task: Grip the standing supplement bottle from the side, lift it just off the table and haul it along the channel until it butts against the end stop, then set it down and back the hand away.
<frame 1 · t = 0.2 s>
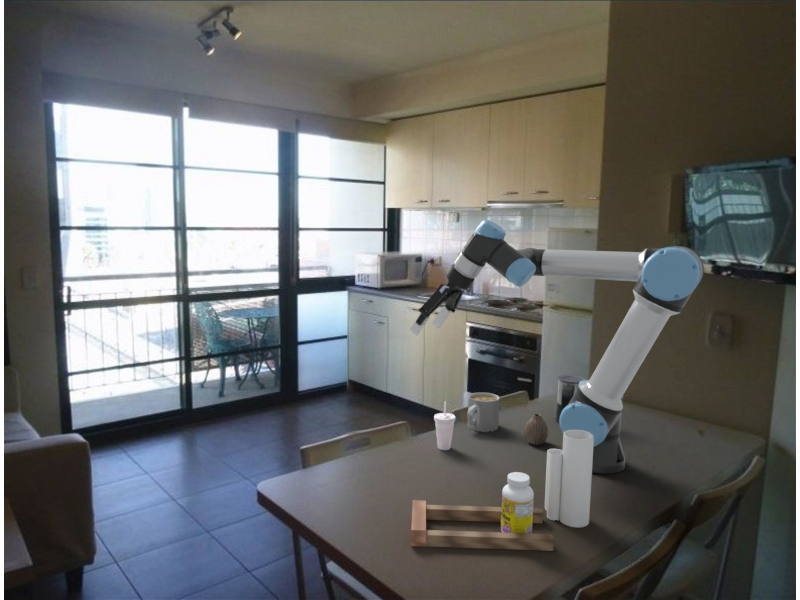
hand: (424, 329, 172), 35 cm above the table, tool tilted 35°, fingers open, 13 cm apart
supplement bottle: (516, 533, 127), resting in channel
white joined tall cylinders: (563, 517, 134), on the table
vase: (535, 443, 179), on the table
smoothie: (444, 448, 174), on the table
coffee mug: (479, 428, 191), on the table
channel: (483, 531, 127), on the table
milk frother: (580, 424, 196), on the table
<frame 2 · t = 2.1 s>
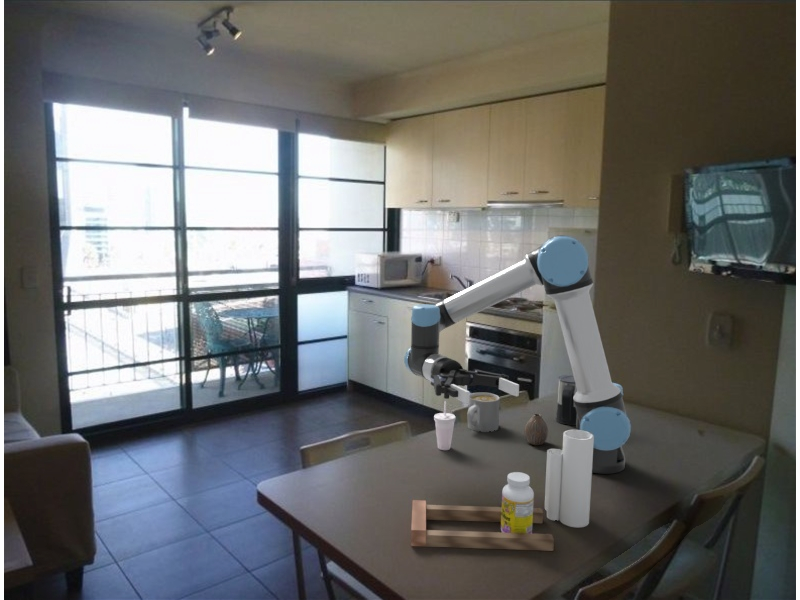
hand: (493, 394, 131), 28 cm above the table, tool horizontal, fingers open, 13 cm apart
nothing on the table moved.
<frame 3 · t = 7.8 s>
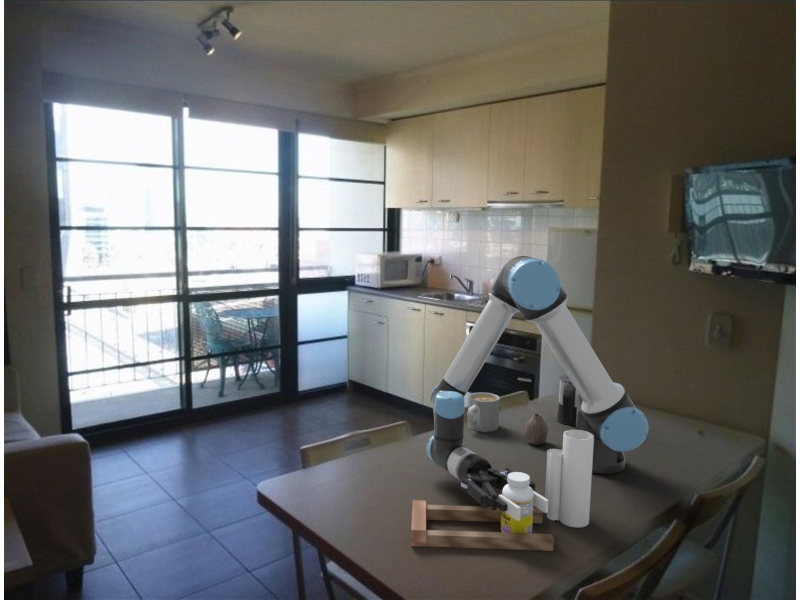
hand: (533, 510, 121), 8 cm above the table, tool horizontal, fingers closed on supplement bottle, 7 cm apart
supplement bottle: (516, 533, 127), resting in channel, touching gripper
everything else where it was.
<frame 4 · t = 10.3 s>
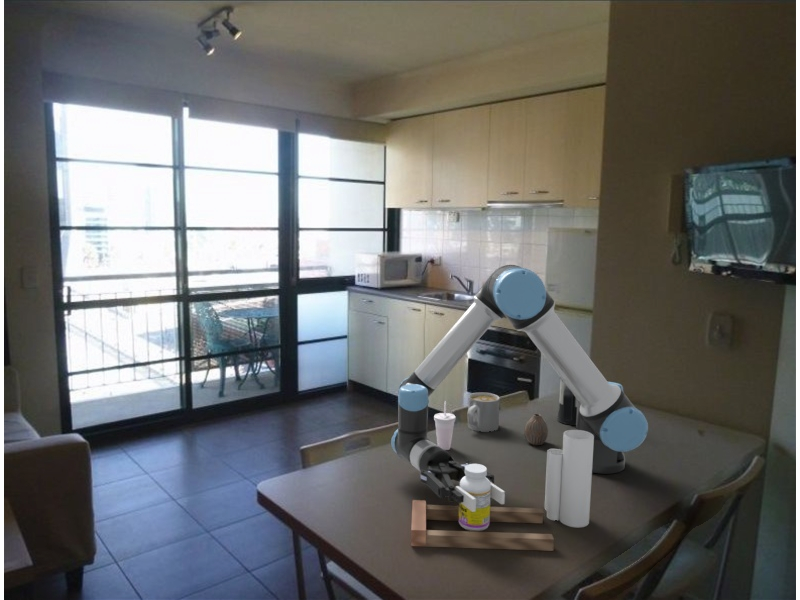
hand: (488, 501, 121), 9 cm above the table, tool horizontal, fingers closed on supplement bottle, 7 cm apart
supplement bottle: (473, 525, 127), point 1 cm above the table, touching gripper
everything else where it was.
when the fingers open (9 cm above the table, at t = 12.8 s): supplement bottle drops 1 cm, resting in channel.
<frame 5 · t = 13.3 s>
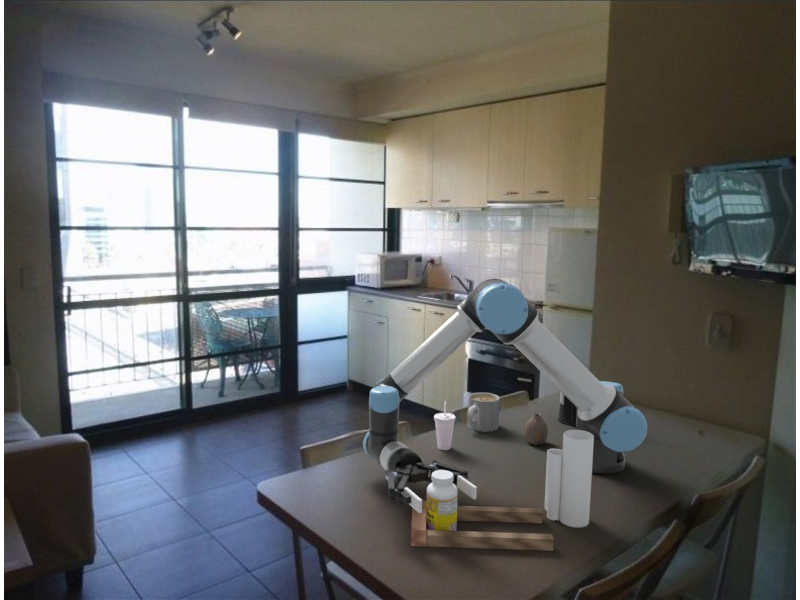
hand: (448, 499, 123), 8 cm above the table, tool horizontal, fingers open, 13 cm apart
supplement bottle: (441, 531, 127), resting in channel
everything else where it was.
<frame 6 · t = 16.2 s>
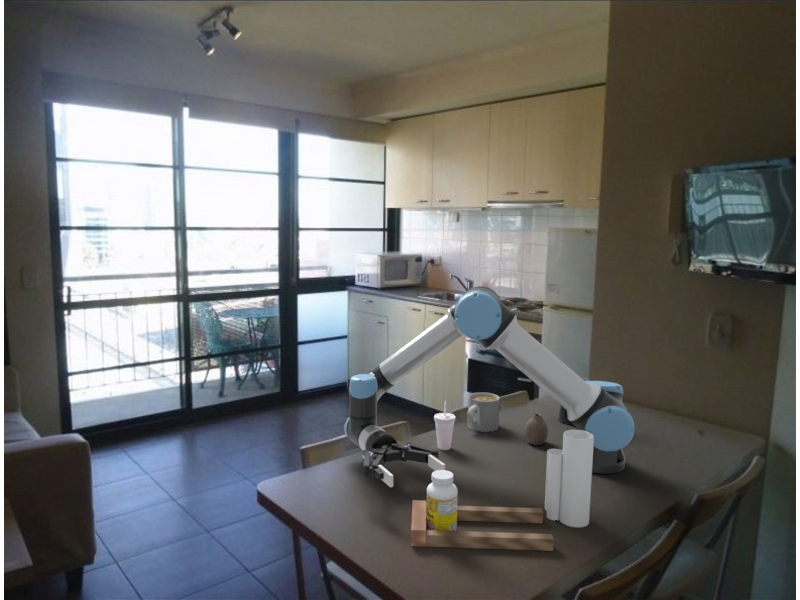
hand: (418, 475, 135), 9 cm above the table, tool horizontal, fingers open, 13 cm apart
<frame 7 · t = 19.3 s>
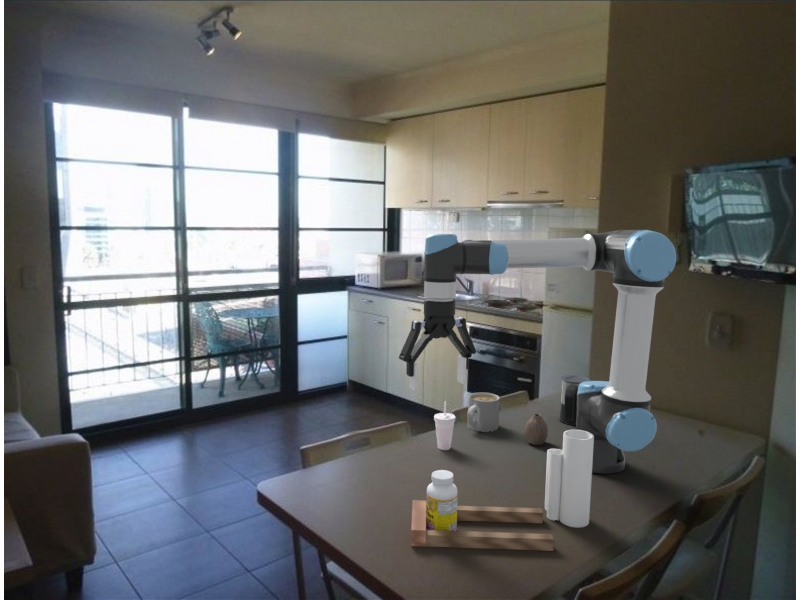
hand: (437, 386, 143), 27 cm above the table, tool pointing down, fingers open, 13 cm apart
at the end: supplement bottle 0.2 cm from the target spot on the channel, point 0.0 cm above the channel's base; supplement bottle tilted 0°; the gripper is holding nothing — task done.
